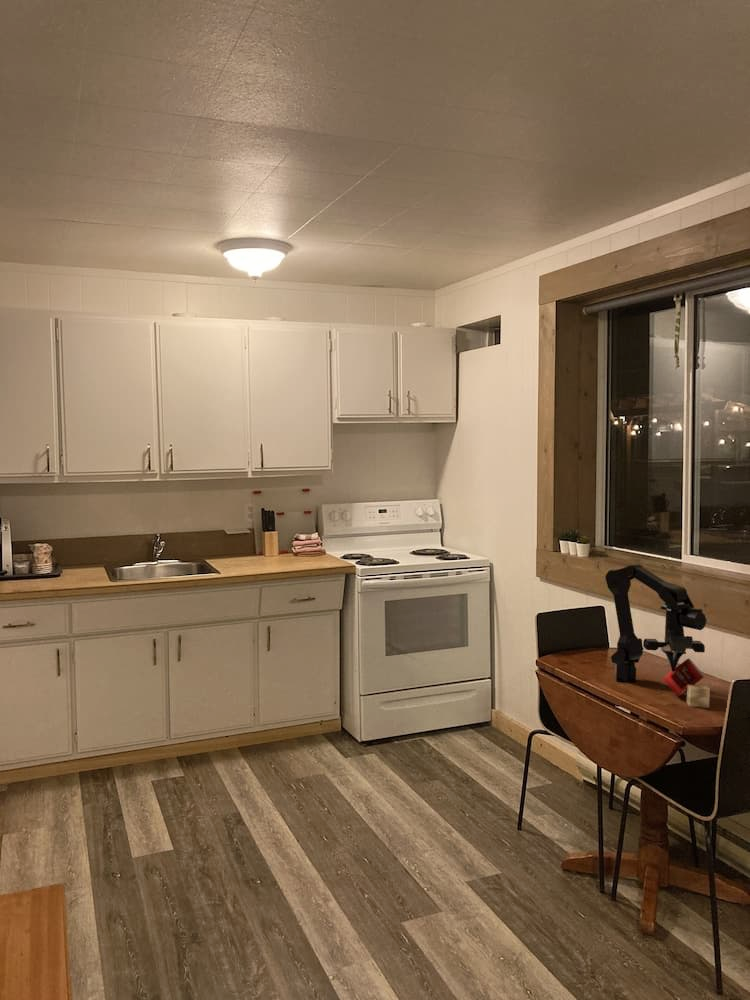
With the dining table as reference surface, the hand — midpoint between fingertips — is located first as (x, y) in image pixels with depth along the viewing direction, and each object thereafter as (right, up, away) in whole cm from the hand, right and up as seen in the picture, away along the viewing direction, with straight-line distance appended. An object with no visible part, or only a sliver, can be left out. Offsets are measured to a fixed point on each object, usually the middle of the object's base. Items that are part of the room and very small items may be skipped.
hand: (672, 670), depth 281 cm
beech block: (+5, -9, -9) cm, 14 cm away
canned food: (-1, -6, 0) cm, 6 cm away
